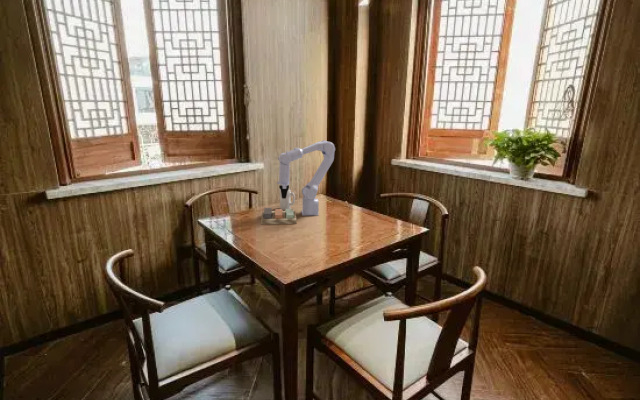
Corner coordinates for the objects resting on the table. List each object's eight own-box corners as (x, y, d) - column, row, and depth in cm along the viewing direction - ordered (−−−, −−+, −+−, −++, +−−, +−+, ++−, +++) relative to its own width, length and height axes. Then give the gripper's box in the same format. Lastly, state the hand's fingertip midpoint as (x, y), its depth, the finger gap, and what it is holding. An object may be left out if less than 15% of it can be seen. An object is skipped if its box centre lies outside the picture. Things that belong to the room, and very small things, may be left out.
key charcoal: (271, 214, 199) (271, 207, 198) (271, 220, 188) (271, 213, 187) (264, 214, 198) (264, 207, 197) (263, 220, 188) (263, 213, 187)
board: (295, 215, 203) (295, 211, 202) (296, 223, 188) (296, 219, 188) (262, 215, 200) (262, 211, 200) (261, 224, 186) (261, 219, 185)
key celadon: (292, 215, 200) (292, 209, 199) (293, 222, 190) (293, 215, 189) (285, 215, 200) (285, 209, 199) (286, 222, 189) (286, 215, 188)
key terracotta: (282, 215, 200) (282, 209, 199) (282, 222, 189) (282, 215, 188) (275, 215, 199) (275, 209, 198) (275, 222, 189) (275, 215, 188)
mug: (277, 209, 213) (277, 190, 210) (282, 206, 219) (282, 187, 216) (292, 211, 209) (292, 192, 206) (297, 208, 215) (297, 189, 212)
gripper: (277, 172, 201) (276, 194, 205) (277, 177, 187) (276, 201, 191) (289, 172, 202) (288, 195, 206) (290, 177, 188) (289, 201, 192)
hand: (283, 198), depth 198 cm, fingers closed
